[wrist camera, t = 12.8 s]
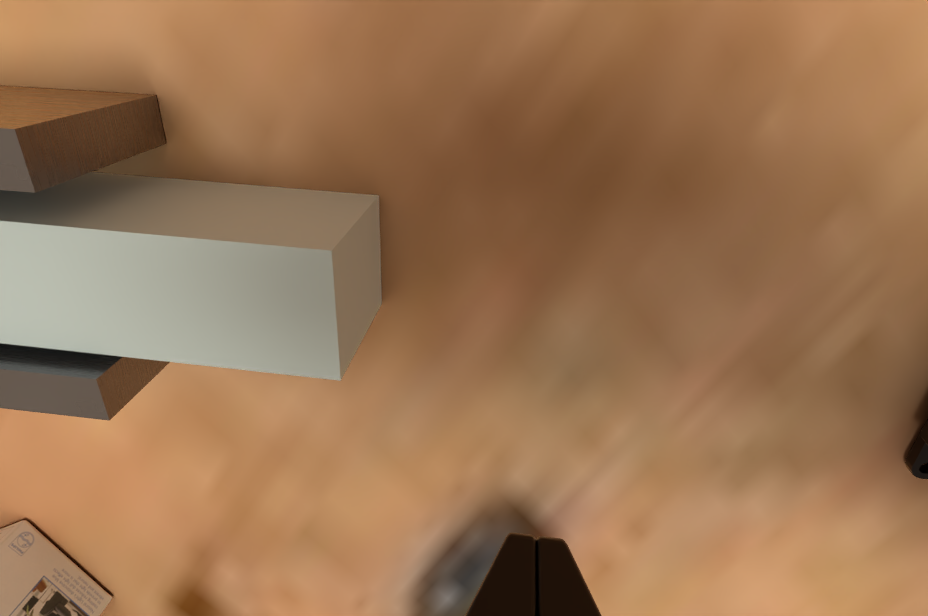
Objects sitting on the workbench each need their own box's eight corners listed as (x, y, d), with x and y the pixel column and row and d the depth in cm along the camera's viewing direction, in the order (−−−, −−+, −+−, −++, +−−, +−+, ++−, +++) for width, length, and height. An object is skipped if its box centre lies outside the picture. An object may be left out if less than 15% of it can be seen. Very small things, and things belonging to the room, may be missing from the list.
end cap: (155, 95, 18) (14, 128, 13) (204, 328, 22) (109, 420, 17) (-34, 83, 19) (-236, 112, 14) (47, 313, 23) (-87, 398, 18)
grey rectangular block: (380, 193, 19) (331, 250, 14) (383, 301, 21) (340, 380, 16) (41, 165, 20) (-100, 211, 16) (73, 270, 22) (-45, 338, 17)
